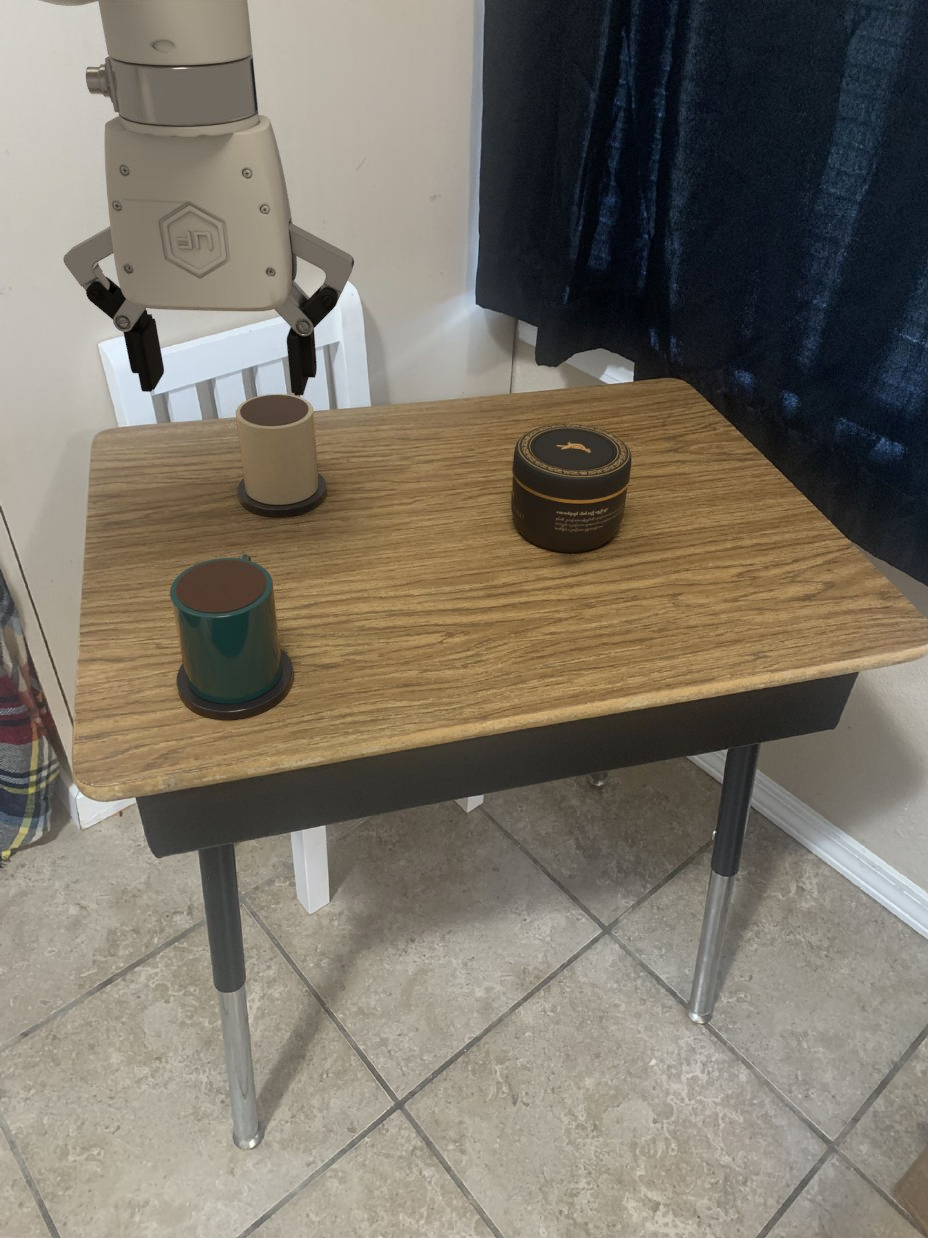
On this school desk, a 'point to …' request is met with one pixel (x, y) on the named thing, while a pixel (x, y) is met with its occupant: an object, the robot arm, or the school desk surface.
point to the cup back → (278, 448)
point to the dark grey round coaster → (283, 509)
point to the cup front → (227, 629)
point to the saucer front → (237, 709)
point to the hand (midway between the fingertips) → (227, 384)
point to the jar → (569, 486)
